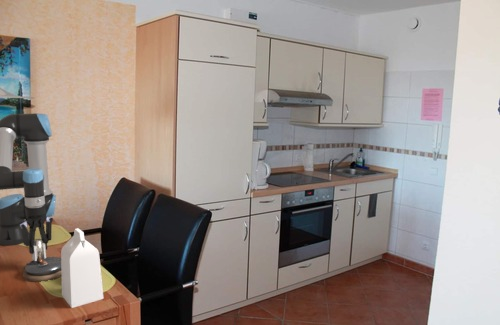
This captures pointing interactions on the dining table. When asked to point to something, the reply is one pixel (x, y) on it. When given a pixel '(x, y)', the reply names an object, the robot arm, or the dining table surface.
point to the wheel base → (41, 277)
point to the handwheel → (43, 262)
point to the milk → (80, 271)
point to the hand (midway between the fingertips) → (39, 258)
